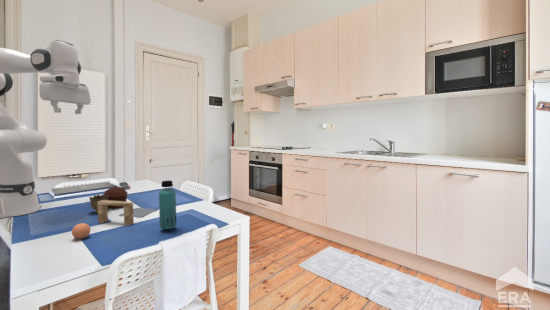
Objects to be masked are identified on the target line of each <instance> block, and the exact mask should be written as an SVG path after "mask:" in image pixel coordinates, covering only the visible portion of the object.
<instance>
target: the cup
mask: <svg viewBox="0 0 550 310" xmlns="http://www.w3.org/2000/svg"><path fill="white" fill-rule="evenodd" d="M101 200H108V196H107V195H104V196H103V194H101V195H100V194H97V195H95V194H94V195H93V197H92V196H90V197H89V202H90V206H91V208H92V209H93V211H94V210H95V211H94V213H96V214H98V203H97V202H98V201H101Z"/></svg>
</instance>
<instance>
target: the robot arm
mask: <svg viewBox="0 0 550 310" xmlns="http://www.w3.org/2000/svg"><path fill="white" fill-rule="evenodd" d="M81 71H82V65H81V63H80V62H79V56H78V51H77V47H76V46H75V45H74V44H72V43H70V42H67V41H65V40H60V39H52V40H51V42H50V44H48V45H47V46H44V47H42V48H37V49H34V50H33V51H32V52H31V53H30V54H27V53H23V52H20V51H17V50H14V49H11V48H6V47H5V48H4V47H0V97H2V96H5V94H6V93H8V92H9V91H10V90H12V88H13V86H14V81H13V80H14V79H13V78H12V76H11V75H14V74H28V73H29V74H33V73H40V74H41V73H43V74H47V75H40V76H39V81H40V83H39V89H38V90H39V92H38V93H39V97H40V99H41V100H42V101H46V102H47V101H48V102H50V105H51V106H52V107H53V112H54V113H58V114H60V113H62V109H61V108H60V107H59V105H58V104H59V103H67V104H68V103H69V104H76V107H77V108H76V109H74V112H75V113H74V114H75V115H81V114H82V110H83V108H84V106H85V105H87V106H88V105H91V94H90V91H89V87H88V86H87V85H86V84H84V83H80V73H81ZM47 142H48V139H47V137H46V135H45V134H44V133H43V132H42V131H39V130H36V129H33V128H32V127H29V126H27V125H25V124H24V123H23V122H20V120H18V119H17V118H15V117H14V116H13V115H12V114H11V113H10V112H9V111H8V110H7V108H6V107H5V106H4V105H3V104H2V103H1V102H0V219H1V218H9V217H18V216H24V215H29V214H32V213H36V212H38V211H40V210H41V209H40V208H42V204H40V202H39V197H38V193H37V191H35V189H36V183H35V181H34V175H33V174H34V173H33V166H32V164H30V163H29V162H27V161H24V160H22V159H21V157H20V155H19V154H23V153H24V154H25V153H33V152H38V151H40V150H44V148H45V147H46V146H47V144H48V143H47Z"/></svg>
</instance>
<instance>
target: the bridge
mask: <svg viewBox="0 0 550 310" xmlns="http://www.w3.org/2000/svg"><path fill="white" fill-rule="evenodd" d="M97 203H98V213H97V219H98V220H97V222H98V223H99V224H104V223H106V222H108V221H109V211H108V210H109V209H108V207H107V205H112V206H124V207H123V213H124V216H123V222H124V226H130V225H132V224H134V223H135V222H134V221H135V219H134V217H133V209H134V201H127V200H126V201H112V200H101V201H98V202H97Z"/></svg>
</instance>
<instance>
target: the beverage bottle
mask: <svg viewBox="0 0 550 310" xmlns="http://www.w3.org/2000/svg"><path fill="white" fill-rule="evenodd" d="M160 186H161V187H162V188H163V189H161V190H160V191H159V192H158V198H159V199H158V201H159V203H158V205H159V213H158V214H159V227H160V229H161V230H170V229H173V228H174V229H175V228H176V227H177V222H178V221H177V197H176V190H175V189H173V188H171V187H173V186H174V185H173V180H162V181H161V185H160Z"/></svg>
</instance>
